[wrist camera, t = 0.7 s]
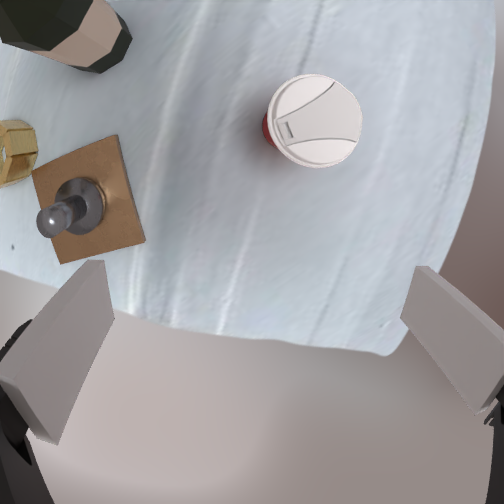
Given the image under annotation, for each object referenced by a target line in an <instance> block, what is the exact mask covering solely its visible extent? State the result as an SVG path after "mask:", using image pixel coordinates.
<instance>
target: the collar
mask: <svg viewBox="0 0 504 504" xmlns="http://www.w3.org/2000/svg"><path fill="white" fill-rule="evenodd" d="M3 146H5V152H6V159H5V163H4V162H3V156H2V149H3ZM37 151H38V147H37V142H36V136H35V131H34V130H33V128H32V127H31V126H29V125H28V124H26V123H24V122H23V121H21V120H4V121H0V189H1V188H3V187H6V186H9V185H12V184H15V183H17V182H19V181H21V180H23V179H25V178H27V177H29V175H30V174H31V171H32V169H33V166H34V163H35V160H36V158H37V155H38V154H37V153H36V152H37Z"/></svg>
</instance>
